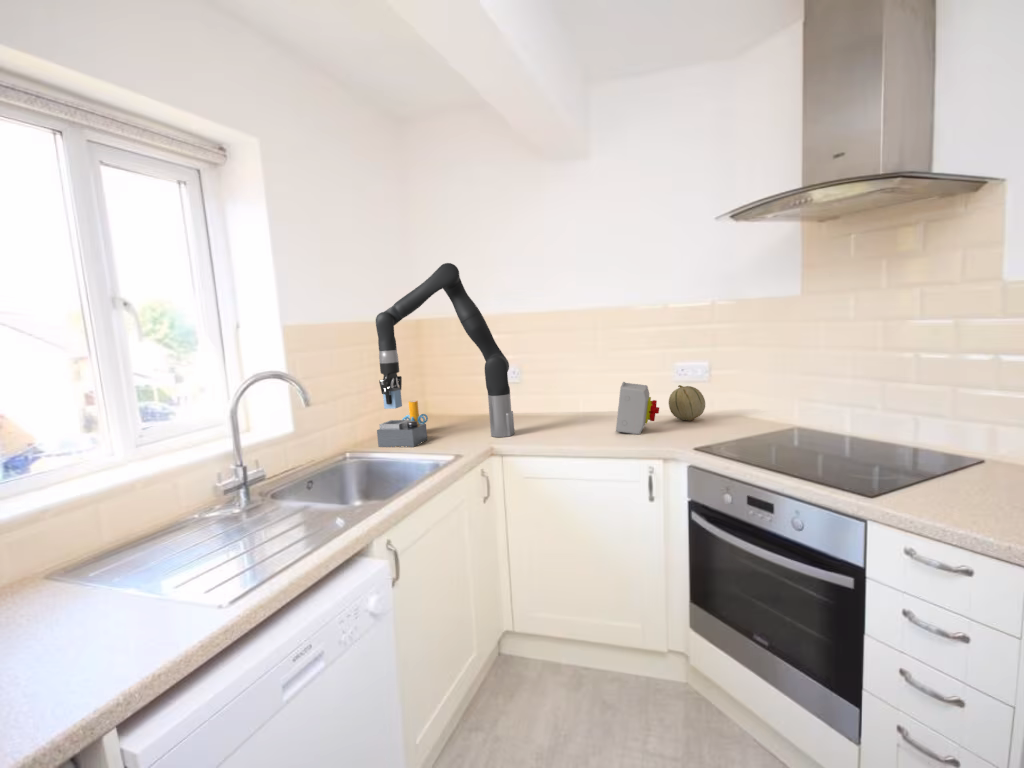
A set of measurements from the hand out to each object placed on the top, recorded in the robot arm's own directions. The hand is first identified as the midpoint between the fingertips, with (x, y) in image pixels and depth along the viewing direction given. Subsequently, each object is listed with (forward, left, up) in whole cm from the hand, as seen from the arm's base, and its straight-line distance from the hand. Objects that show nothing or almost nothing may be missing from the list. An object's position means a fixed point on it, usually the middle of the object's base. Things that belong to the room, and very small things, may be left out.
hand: (393, 402), depth 211 cm
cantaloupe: (-115, -42, -17) cm, 124 cm away
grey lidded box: (0, 0, -2) cm, 2 cm away
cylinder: (0, -17, -17) cm, 24 cm away
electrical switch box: (-96, -22, -17) cm, 100 cm away
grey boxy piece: (-3, 0, -17) cm, 17 cm away
